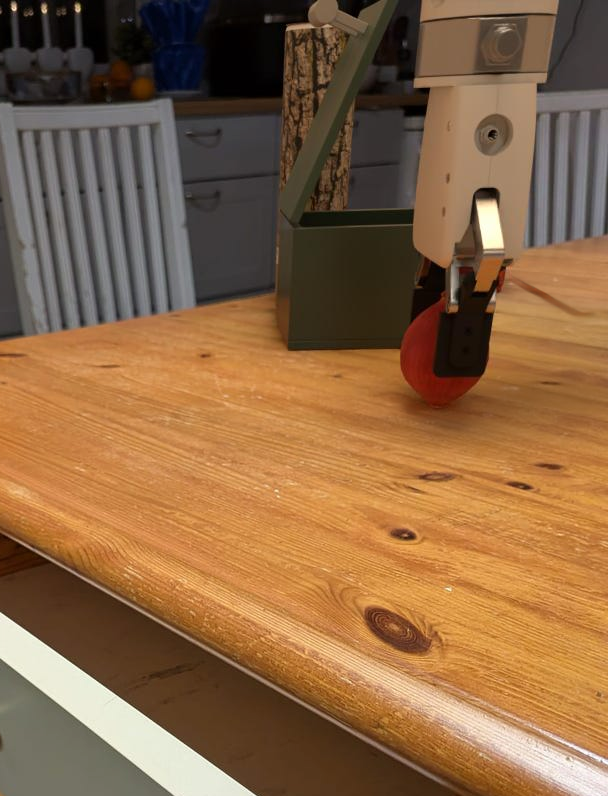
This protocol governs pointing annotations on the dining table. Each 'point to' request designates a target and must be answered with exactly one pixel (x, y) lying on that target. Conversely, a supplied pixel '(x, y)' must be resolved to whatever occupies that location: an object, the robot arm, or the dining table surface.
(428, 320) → the onion
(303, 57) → the bark log
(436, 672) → the dining table surface
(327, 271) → the bin
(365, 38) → the bin lid
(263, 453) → the dining table surface
